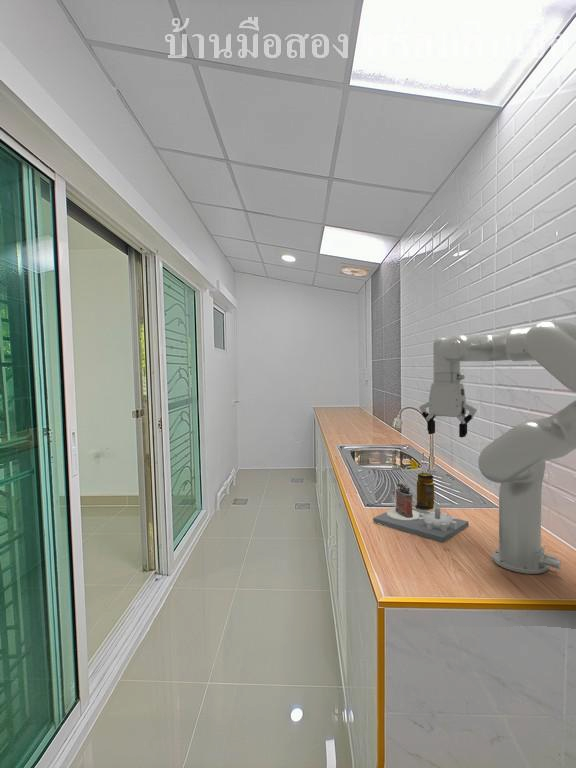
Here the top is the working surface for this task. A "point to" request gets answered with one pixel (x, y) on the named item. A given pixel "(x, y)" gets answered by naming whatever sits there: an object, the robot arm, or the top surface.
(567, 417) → the robot arm
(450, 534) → the gear board
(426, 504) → the condiment
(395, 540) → the top surface
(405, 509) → the lighter
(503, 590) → the top surface
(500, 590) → the top surface
